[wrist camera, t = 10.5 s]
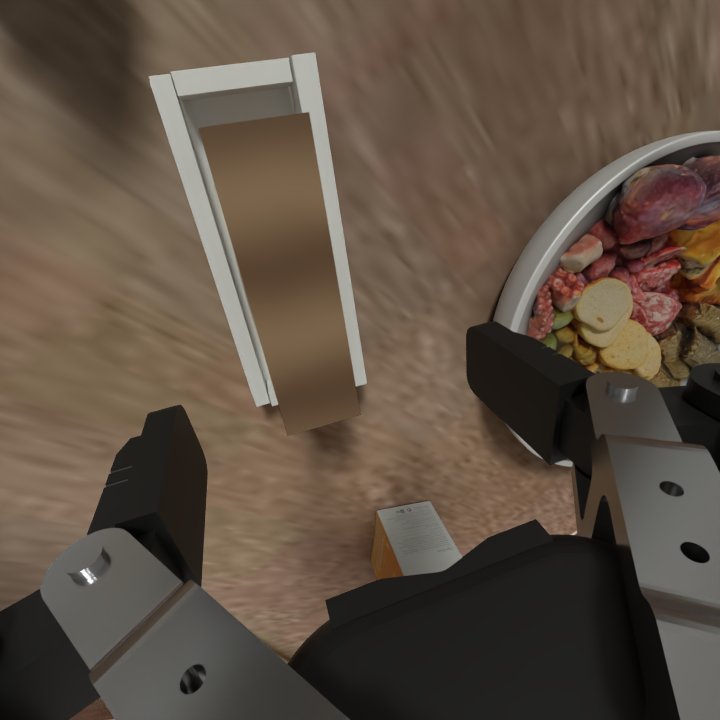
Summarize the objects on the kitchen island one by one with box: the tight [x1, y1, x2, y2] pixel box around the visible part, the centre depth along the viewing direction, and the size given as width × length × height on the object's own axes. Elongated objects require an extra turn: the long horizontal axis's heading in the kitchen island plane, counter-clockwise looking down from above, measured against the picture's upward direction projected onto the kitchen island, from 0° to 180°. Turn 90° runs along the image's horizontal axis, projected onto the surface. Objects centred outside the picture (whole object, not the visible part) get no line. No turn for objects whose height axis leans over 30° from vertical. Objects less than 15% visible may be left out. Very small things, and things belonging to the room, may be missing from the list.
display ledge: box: [149, 53, 367, 407], centre depth 26 cm, size 8×20×4 cm, turn 8°
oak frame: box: [198, 112, 361, 436], centre depth 22 cm, size 14×4×10 cm, turn 8°
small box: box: [371, 501, 462, 580], centre depth 38 cm, size 8×6×13 cm
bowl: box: [493, 131, 720, 467], centre depth 35 cm, size 30×30×8 cm
